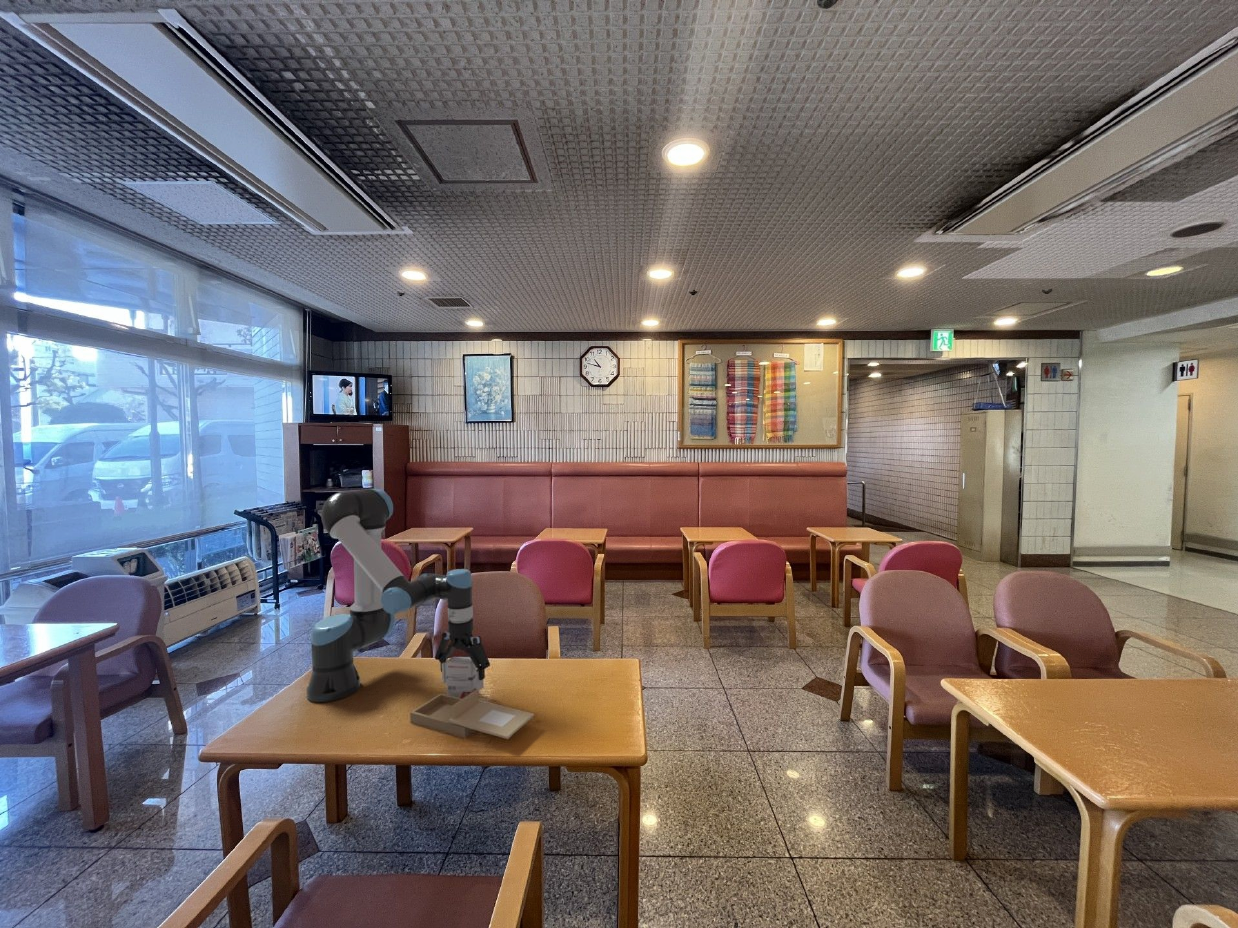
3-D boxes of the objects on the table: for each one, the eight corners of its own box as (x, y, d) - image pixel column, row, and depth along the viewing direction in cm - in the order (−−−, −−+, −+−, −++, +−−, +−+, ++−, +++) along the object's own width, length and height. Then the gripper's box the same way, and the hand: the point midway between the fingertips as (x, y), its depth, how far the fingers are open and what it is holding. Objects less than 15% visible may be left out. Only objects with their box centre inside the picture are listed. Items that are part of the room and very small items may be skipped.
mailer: (410, 722, 142) (410, 712, 142) (441, 702, 153) (441, 693, 153) (464, 738, 134) (464, 727, 133) (493, 716, 144) (493, 706, 144)
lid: (448, 722, 136) (447, 707, 136) (477, 701, 147) (477, 687, 147) (507, 738, 128) (507, 723, 127) (534, 715, 139) (533, 700, 138)
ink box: (478, 692, 159) (477, 656, 158) (472, 700, 154) (471, 662, 154) (452, 691, 160) (451, 655, 159) (445, 699, 155) (444, 662, 154)
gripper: (421, 618, 158) (424, 683, 158) (484, 628, 147) (486, 698, 148) (439, 611, 165) (441, 673, 165) (500, 620, 154) (502, 687, 155)
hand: (462, 685), depth 157 cm, fingers open, 13 cm apart
